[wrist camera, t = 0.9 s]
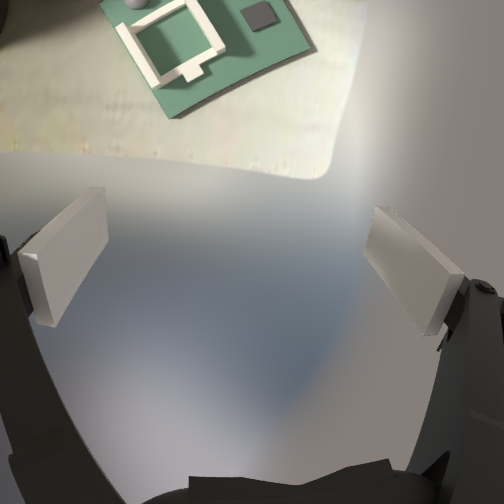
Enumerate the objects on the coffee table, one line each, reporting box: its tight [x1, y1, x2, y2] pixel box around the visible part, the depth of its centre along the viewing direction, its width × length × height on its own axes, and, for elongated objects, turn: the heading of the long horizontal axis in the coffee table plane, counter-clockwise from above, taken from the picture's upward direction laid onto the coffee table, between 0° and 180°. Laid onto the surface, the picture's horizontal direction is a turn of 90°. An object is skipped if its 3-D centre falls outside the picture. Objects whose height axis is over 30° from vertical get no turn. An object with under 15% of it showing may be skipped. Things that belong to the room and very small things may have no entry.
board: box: [100, 0, 310, 119], centre depth 27 cm, size 18×18×5 cm
